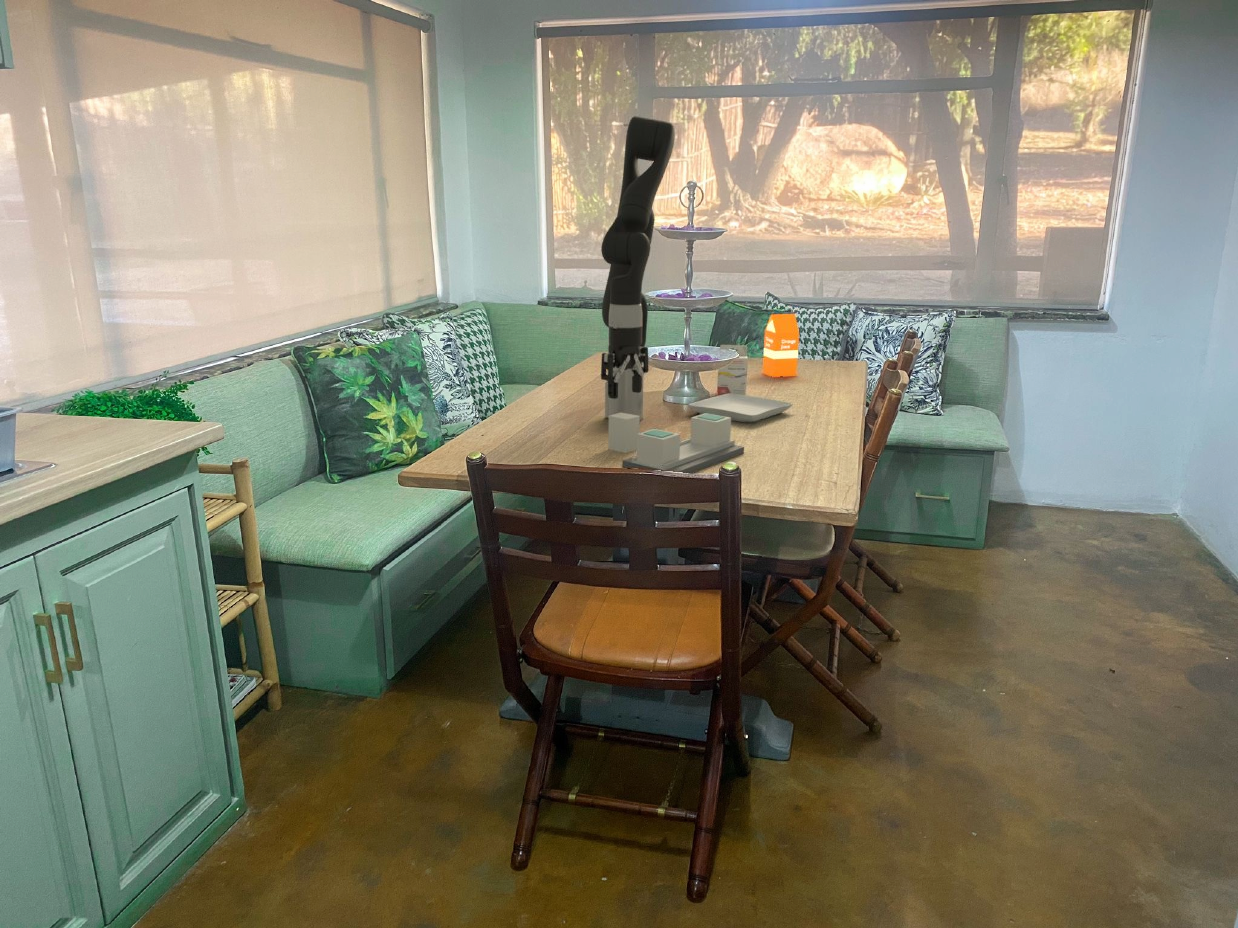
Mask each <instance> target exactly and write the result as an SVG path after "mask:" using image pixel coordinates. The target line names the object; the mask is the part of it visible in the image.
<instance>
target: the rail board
mask: <svg viewBox="0 0 1238 928" xmlns="http://www.w3.org/2000/svg"><path fill="white" fill-rule="evenodd" d="M731 427H732V420H731V418H730V417H725V416H719V415H714V414H708V413H705V414H701V413H700V414H699V415H695V416H692V417H690V437H689V438H687V439H683V440H681V433H676V432H671V431H668V430H667V431H666V430H661V429H656V428H653V429H648V430H647V431H646V430H645V431H643V432H639V434H637V450H636V455H635V456H632V457H629V458H625V459H623V460H622V462H621V463H622V466H621V467H622V468H624V469H628V468H638V469H650V470H661V471H673V472H683V473H691V474H693V473H695V472H699V471H701V470H703V469H706V468H709V467H711V466H714V465H716V464H720V463H722V462H725V461H727V460H729V459H732V458H734V457H738V456H740V455H742V454H744V453H745V446H743V445H737V444H735V442H736V440H735V439H731V432H732V431H731V430H732V429H731Z"/></svg>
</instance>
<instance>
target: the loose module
mask: <svg viewBox="0 0 1238 928" xmlns="http://www.w3.org/2000/svg"><path fill="white" fill-rule="evenodd" d="M639 433H640V420H639V416H637V415H632V414H627V413H622V412H621V413H617V414H613V415H610V416H609V418H608V448H607V449H608V450H609V451H610V450H611V451H613V452H620V453H624V454H630V453H633V452H635V451H636V452H637V434H639Z"/></svg>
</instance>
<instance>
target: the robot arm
mask: <svg viewBox="0 0 1238 928" xmlns="http://www.w3.org/2000/svg"><path fill="white" fill-rule="evenodd" d="M675 137H676V129H675V125H674V123H672V122H670V121H667V120H663V119H657V118H651V117H645V116H639V115H638V116H637V115H634V116H632V117H631V118H630V120H629V122H628V125H627V130H626V136H625V147H624V159H623V170H622V172H623V173H622V184H621V191H620V196H619V204H618V209H617V215H616V217H615V219H614V221H613V223H612V224H611V226H610V227H609V229H608V230H607V231H606V233H605V234H604V237H603V239H602V243H601V247H600V248H601V251H600V252H601V257H603V260H604V262H606V263H607V264H609V265H610V267H609V272H608V276H607V281H606V285H605V289H604V290H605V291H604V293H603V299H602V305H601V317H602V321H603V324H604V325H605V326H606V327H607V328H608V349H607V350H608V352H602V354H601V362H600V363H601V364H600V365H601V369H600V379H601V380H603V381H605V385H604V396H605V397H604V413H605V414H604V417H605V418H607V419H609V416H610V415H613V414H617V413H621V412H622V413H627V414H632V415H637V416H639V421H641V420H643V418H644V417H643V416H644V374H645V373H648V372H649V348H648V347H647V346H646V343H647V328H648V313H649V312H648V310H649V309H648V301H647V297H646V296H645V294H644V293H643V292H642V289H643V287H642V286H643V280H644V277H645V276H644V275H645V271H646V267H647V264H648V261H649V257H650V253H651V244H652V239H653V233H654V228H655V221H656V219H655V214H654V209H653V206H654V202H655V198H656V195H657V192H658V190H659V188H660V185H661V184H662V180H663V178H664V175H665V173H666V170H667V167H668V166H669V165H668V164H669V161H670V160H671V156H672V154H673V151H674V146H675V139H676V138H675ZM639 160H645V161H647V162H648V161H649V162H652V163H651V165H650V166H649V167H648V168H647V169H646V170H645V171H644V172H643V173H641V174H640V171H639Z"/></svg>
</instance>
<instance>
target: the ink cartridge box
mask: <svg viewBox="0 0 1238 928" xmlns="http://www.w3.org/2000/svg"><path fill="white" fill-rule="evenodd" d="M720 349H726V350H729V351H730V350H732V349H735V350H733V351H734V352H737V353H738V354H739V358H736V360H734V361H733V362H732V363H731V364H729V365H728V366H726V367H724V368H722V369H719V370H718V369H717V389H716V393H717V394H716V396H720V395H724V394H728V393H732V394H739V395H746V396H747V382H748V381H747V379H748V362H749V361H748V358H749V357H748V353H747V352H748V346H747V344H746V345H741V344H739V345H738V344H720V346H719V350H720Z"/></svg>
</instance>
